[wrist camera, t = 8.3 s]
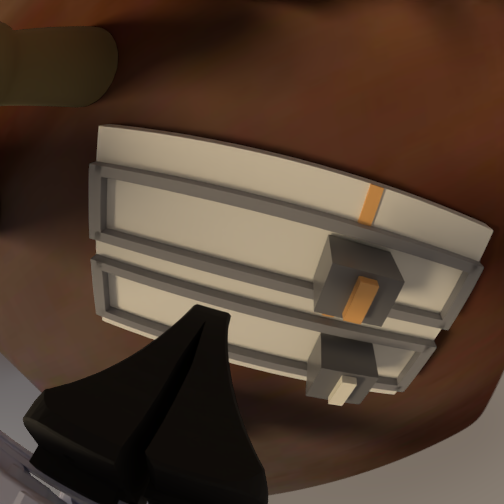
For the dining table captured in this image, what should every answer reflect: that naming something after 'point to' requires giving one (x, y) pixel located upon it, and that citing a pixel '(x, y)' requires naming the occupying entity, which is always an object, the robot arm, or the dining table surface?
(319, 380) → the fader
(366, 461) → the dining table surface
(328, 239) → the fader tab
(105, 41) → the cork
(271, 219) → the console board
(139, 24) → the dining table surface
